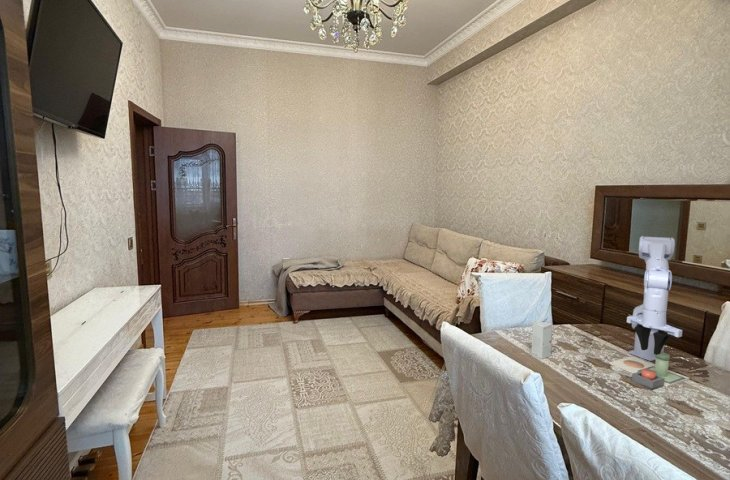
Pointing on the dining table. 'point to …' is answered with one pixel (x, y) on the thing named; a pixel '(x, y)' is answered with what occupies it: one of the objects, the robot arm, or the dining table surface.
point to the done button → (648, 374)
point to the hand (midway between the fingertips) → (650, 351)
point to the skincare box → (541, 339)
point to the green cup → (662, 364)
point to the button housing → (648, 381)
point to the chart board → (637, 365)
